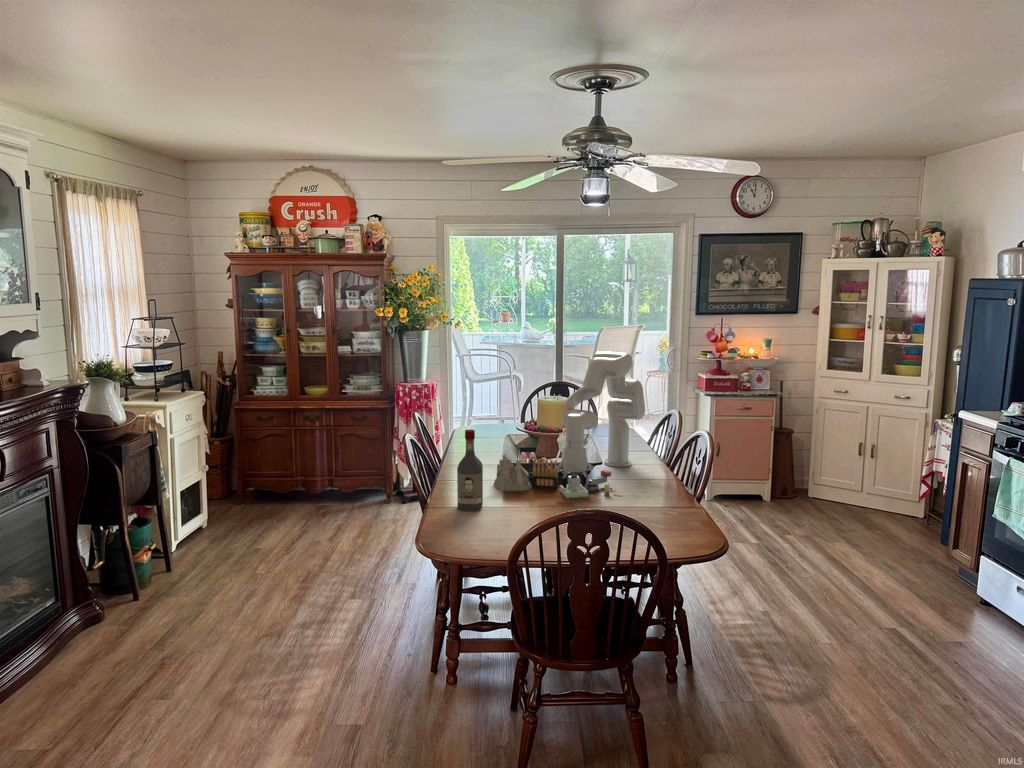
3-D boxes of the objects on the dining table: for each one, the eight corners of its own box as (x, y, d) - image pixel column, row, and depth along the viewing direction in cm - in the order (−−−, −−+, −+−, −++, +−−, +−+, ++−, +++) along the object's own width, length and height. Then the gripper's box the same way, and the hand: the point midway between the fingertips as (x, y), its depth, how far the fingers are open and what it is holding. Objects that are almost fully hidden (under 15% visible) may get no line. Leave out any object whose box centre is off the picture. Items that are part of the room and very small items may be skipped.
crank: (591, 487, 279) (591, 477, 278) (584, 484, 282) (584, 475, 281) (610, 481, 286) (611, 471, 286) (603, 479, 289) (604, 469, 289)
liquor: (459, 503, 265) (459, 427, 260) (483, 503, 265) (482, 428, 260) (457, 511, 256) (456, 433, 251) (481, 511, 256) (481, 433, 251)
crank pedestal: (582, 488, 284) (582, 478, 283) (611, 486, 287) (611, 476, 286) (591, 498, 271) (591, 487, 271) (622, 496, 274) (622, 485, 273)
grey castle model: (529, 491, 279) (528, 455, 278) (490, 491, 282) (489, 455, 281) (534, 483, 294) (534, 448, 293) (497, 482, 297) (496, 448, 296)
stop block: (567, 491, 278) (568, 474, 277) (577, 490, 279) (577, 473, 278) (570, 494, 275) (570, 476, 273) (580, 493, 275) (580, 476, 274)
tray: (559, 490, 281) (559, 485, 280) (580, 489, 282) (580, 484, 282) (566, 498, 271) (566, 492, 271) (588, 497, 273) (588, 491, 272)
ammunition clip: (531, 487, 285) (532, 459, 283) (532, 486, 287) (532, 458, 285) (557, 489, 283) (557, 461, 281) (557, 487, 285) (558, 460, 283)
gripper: (592, 441, 279) (591, 482, 282) (551, 442, 276) (550, 485, 278) (598, 445, 272) (597, 488, 274) (556, 447, 268) (555, 490, 271)
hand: (573, 486), depth 276 cm, fingers open, 7 cm apart
